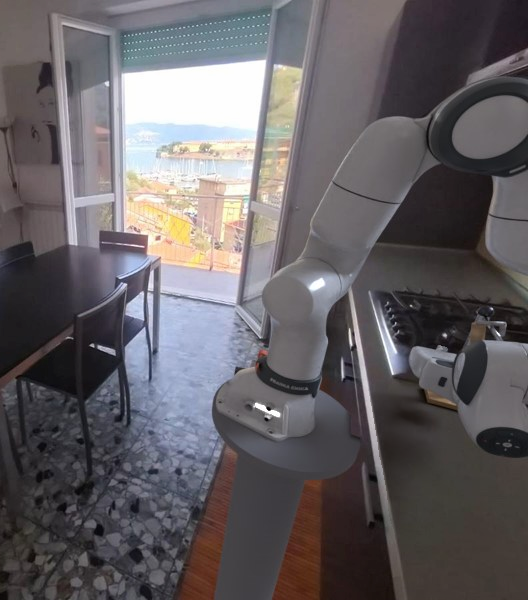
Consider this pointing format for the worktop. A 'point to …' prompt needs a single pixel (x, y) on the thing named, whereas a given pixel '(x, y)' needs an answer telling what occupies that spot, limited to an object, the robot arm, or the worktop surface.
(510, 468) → the worktop surface
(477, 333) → the wooden post on base
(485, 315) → the wood and metal stand
